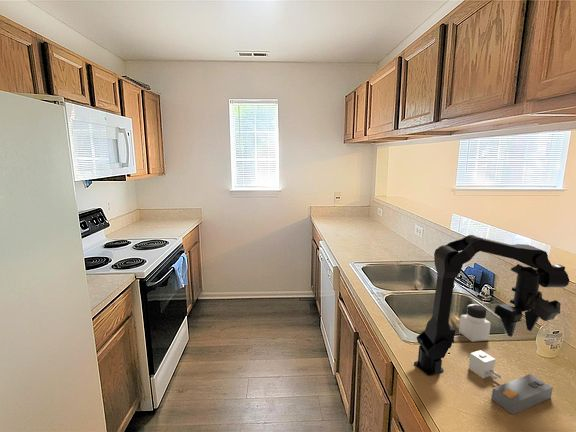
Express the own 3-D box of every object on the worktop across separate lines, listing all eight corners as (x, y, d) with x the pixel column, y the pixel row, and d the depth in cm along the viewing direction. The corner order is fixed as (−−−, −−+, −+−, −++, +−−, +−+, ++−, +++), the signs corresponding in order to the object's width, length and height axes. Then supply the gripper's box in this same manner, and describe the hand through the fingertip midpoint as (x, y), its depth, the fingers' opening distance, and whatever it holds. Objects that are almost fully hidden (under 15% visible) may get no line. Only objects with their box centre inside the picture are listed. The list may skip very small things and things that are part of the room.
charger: (468, 368, 106) (470, 352, 104) (478, 365, 107) (480, 348, 106) (492, 384, 98) (494, 367, 97) (502, 380, 100) (505, 363, 99)
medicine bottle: (488, 340, 121) (493, 310, 119) (471, 342, 120) (475, 311, 118) (475, 330, 128) (478, 301, 126) (458, 331, 127) (462, 302, 125)
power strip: (491, 398, 92) (493, 386, 92) (528, 384, 98) (530, 372, 98) (512, 414, 87) (514, 401, 86) (550, 398, 93) (553, 385, 92)
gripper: (535, 302, 90) (526, 354, 93) (576, 292, 97) (567, 340, 100) (496, 287, 100) (489, 334, 103) (536, 278, 107) (528, 322, 110)
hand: (519, 333), depth 104 cm, fingers open, 9 cm apart
